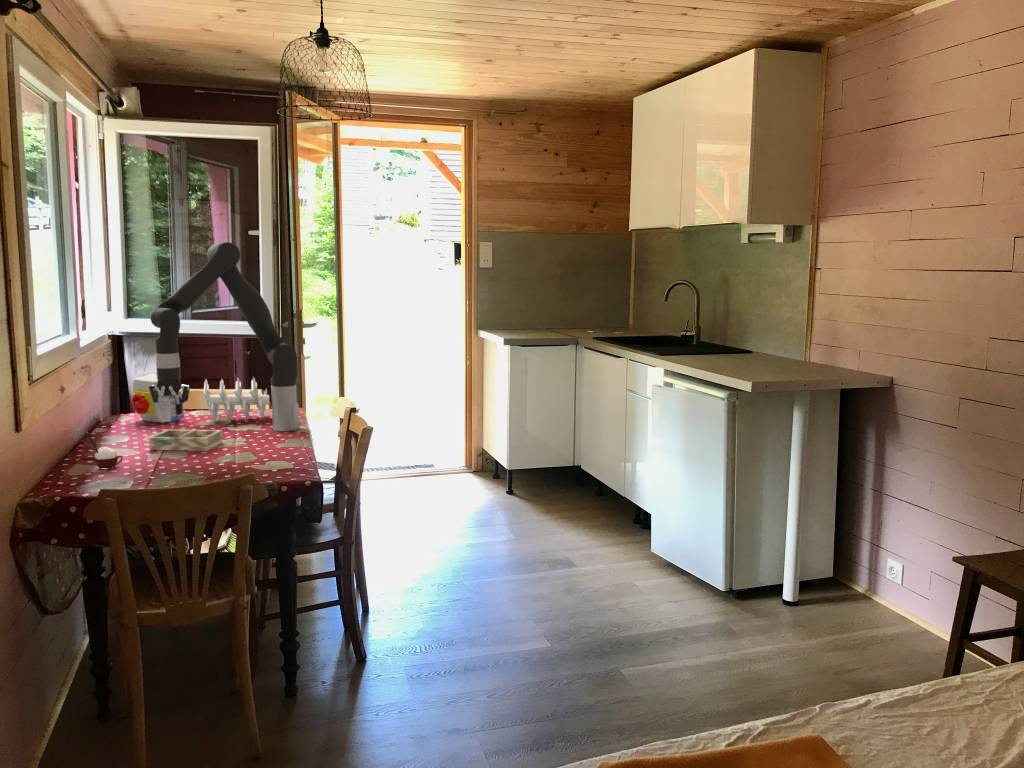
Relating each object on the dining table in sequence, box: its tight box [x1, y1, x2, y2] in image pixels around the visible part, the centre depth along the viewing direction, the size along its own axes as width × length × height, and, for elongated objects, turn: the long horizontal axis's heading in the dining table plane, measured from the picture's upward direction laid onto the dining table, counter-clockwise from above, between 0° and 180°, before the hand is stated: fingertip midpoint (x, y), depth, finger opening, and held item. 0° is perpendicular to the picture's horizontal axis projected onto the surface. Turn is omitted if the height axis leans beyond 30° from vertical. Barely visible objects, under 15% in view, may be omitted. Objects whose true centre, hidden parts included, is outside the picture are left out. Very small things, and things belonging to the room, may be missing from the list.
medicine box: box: [158, 393, 185, 423], centre depth 279 cm, size 8×4×9 cm, turn 168°
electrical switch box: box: [131, 372, 166, 424], centre depth 323 cm, size 15×15×20 cm
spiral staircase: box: [203, 376, 270, 424], centre depth 324 cm, size 18×18×25 cm
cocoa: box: [85, 431, 124, 469], centre depth 250 cm, size 10×6×12 cm, turn 104°
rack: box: [148, 429, 223, 452], centre depth 280 cm, size 20×13×4 cm, turn 87°
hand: (171, 414), depth 279 cm, fingers closed on medicine box, 4 cm apart
